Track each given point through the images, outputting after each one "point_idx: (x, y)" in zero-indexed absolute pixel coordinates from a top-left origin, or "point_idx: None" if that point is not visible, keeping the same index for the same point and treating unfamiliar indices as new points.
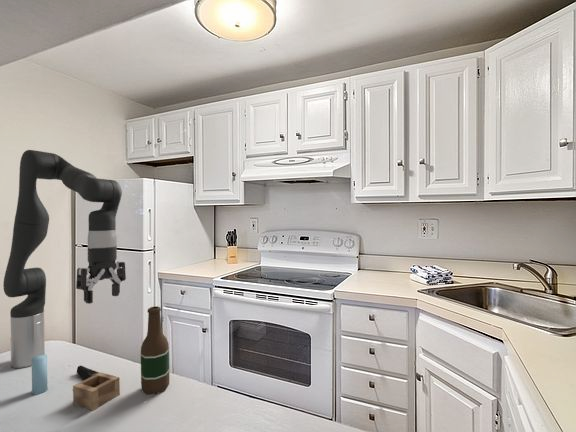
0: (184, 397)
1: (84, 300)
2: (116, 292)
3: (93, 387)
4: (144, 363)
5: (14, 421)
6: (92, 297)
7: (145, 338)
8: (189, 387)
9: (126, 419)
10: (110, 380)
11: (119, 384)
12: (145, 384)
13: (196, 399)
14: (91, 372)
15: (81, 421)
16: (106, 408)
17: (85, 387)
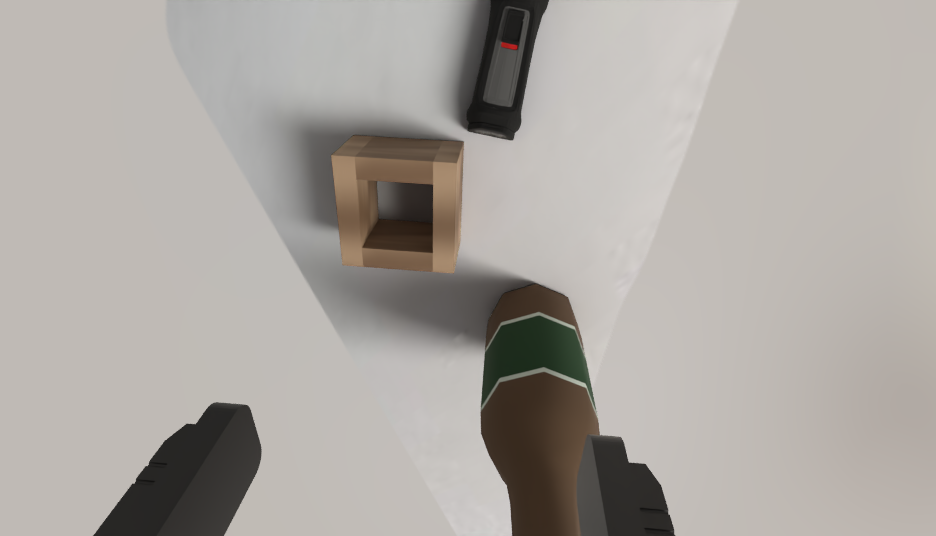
0: None
1: (174, 441)
2: (582, 531)
3: (360, 244)
4: (483, 388)
5: (191, 29)
6: (228, 521)
7: (511, 450)
8: None
9: (378, 346)
10: (422, 261)
11: (456, 259)
12: (486, 339)
13: None
14: (508, 24)
15: (314, 247)
16: None
17: (347, 216)
